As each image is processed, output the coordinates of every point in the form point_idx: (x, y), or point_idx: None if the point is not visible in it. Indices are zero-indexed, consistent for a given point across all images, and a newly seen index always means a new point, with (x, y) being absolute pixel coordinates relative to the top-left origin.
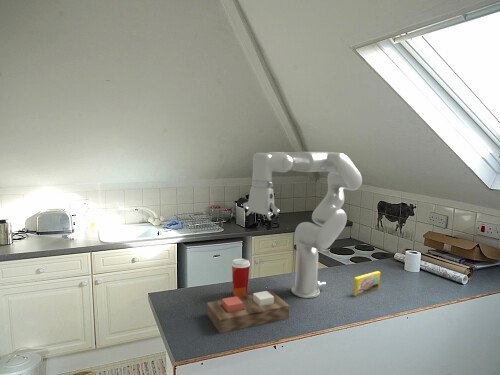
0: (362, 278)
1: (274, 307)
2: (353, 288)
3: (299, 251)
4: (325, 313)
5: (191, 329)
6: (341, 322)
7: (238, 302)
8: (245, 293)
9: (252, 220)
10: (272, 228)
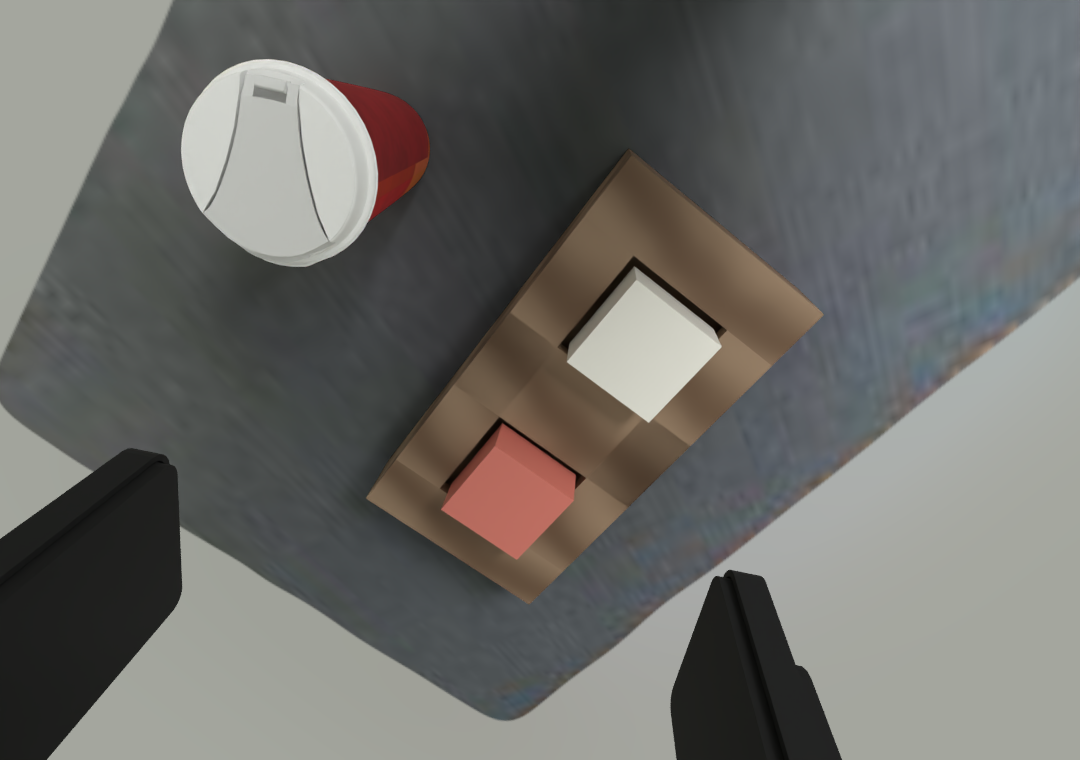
0: None
1: (738, 382)
2: None
3: None
4: (1039, 106)
5: (414, 580)
6: None
7: (547, 506)
8: (426, 158)
9: (104, 553)
10: (763, 581)
